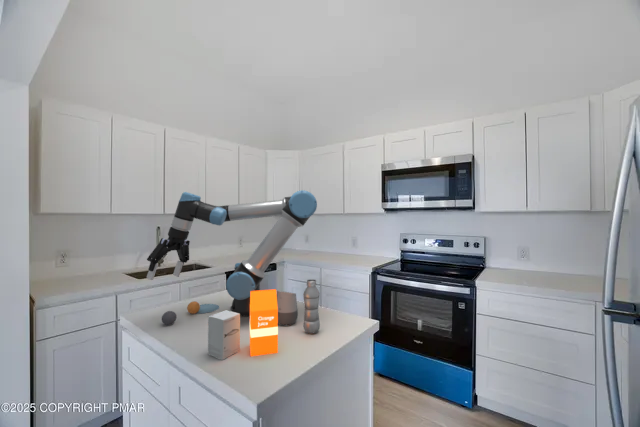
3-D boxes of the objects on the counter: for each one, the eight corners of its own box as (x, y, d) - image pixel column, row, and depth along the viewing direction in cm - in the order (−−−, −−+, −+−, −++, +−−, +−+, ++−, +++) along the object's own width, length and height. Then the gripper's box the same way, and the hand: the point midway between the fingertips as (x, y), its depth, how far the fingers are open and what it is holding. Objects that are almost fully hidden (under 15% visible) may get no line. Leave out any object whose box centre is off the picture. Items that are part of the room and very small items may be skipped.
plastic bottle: (322, 329, 111) (322, 279, 111) (316, 336, 104) (316, 282, 105) (307, 327, 113) (307, 278, 113) (300, 334, 106) (300, 281, 107)
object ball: (202, 311, 132) (202, 300, 132) (195, 315, 126) (195, 303, 126) (191, 311, 133) (191, 299, 133) (184, 315, 127) (184, 303, 127)
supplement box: (222, 360, 87) (222, 320, 87) (207, 354, 91) (207, 315, 91) (240, 351, 93) (240, 313, 93) (225, 345, 97) (225, 309, 97)
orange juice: (278, 352, 92) (278, 292, 92) (250, 356, 89) (250, 294, 90) (274, 342, 99) (275, 286, 100) (249, 345, 97) (249, 288, 97)
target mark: (224, 304, 142) (224, 304, 142) (210, 314, 128) (210, 313, 128) (198, 303, 144) (198, 303, 144) (181, 313, 130) (181, 312, 130)
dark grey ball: (179, 322, 119) (179, 309, 119) (170, 327, 113) (170, 313, 113) (167, 321, 119) (167, 308, 119) (158, 326, 114) (158, 313, 114)
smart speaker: (301, 321, 120) (301, 288, 120) (289, 328, 112) (289, 293, 112) (284, 317, 124) (284, 285, 125) (270, 324, 116) (270, 290, 116)
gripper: (193, 228, 130) (178, 271, 129) (148, 223, 106) (129, 276, 105) (206, 233, 128) (191, 277, 127) (163, 229, 104) (144, 283, 103)
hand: (163, 277), depth 116 cm, fingers open, 13 cm apart
